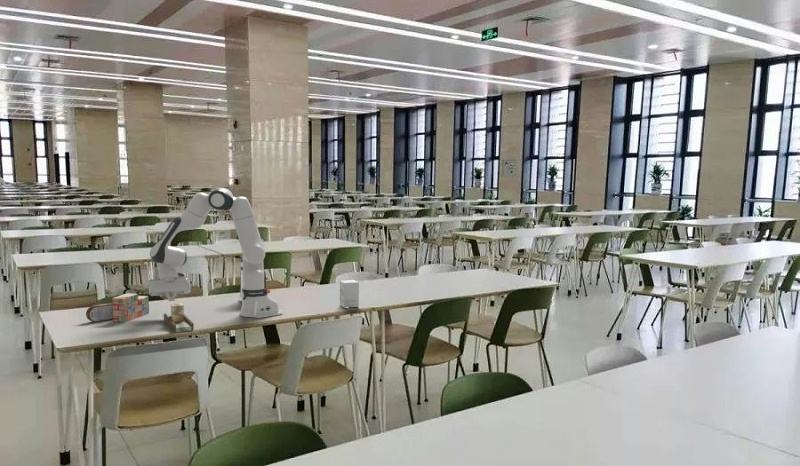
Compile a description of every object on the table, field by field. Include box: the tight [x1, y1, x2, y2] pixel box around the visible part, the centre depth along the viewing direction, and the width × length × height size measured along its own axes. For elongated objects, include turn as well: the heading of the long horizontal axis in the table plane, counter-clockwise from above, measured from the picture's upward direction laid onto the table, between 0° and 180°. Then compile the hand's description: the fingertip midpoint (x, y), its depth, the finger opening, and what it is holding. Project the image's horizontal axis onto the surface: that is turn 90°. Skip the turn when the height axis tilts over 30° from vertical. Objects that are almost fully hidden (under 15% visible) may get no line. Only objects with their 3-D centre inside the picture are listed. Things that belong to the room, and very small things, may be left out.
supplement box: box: [339, 279, 360, 309], centre depth 346 cm, size 9×9×15 cm
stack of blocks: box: [112, 292, 150, 323], centre depth 308 cm, size 21×6×12 cm, turn 170°
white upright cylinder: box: [237, 257, 267, 302], centre depth 352 cm, size 17×16×30 cm
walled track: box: [163, 313, 195, 333], centre depth 294 cm, size 9×26×4 cm, turn 31°
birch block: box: [170, 302, 185, 322], centre depth 295 cm, size 5×5×8 cm
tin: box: [85, 302, 113, 323], centre depth 300 cm, size 15×3×8 cm, turn 141°
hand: (171, 300), depth 306 cm, fingers closed
